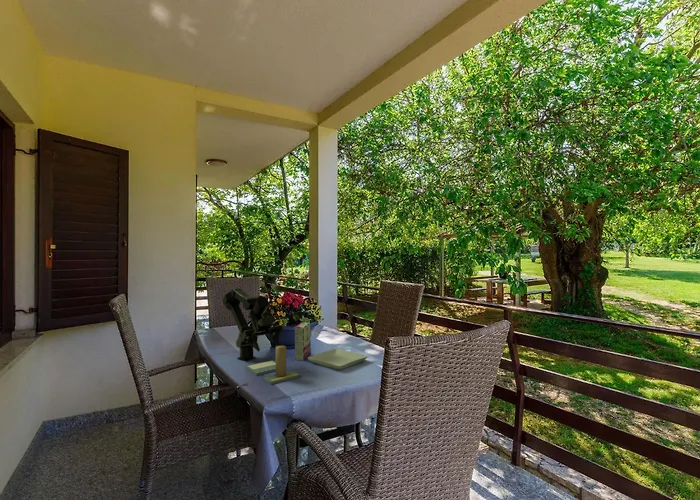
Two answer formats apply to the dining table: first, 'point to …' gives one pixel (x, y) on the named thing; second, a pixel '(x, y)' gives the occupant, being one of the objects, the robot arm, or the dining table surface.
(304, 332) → the candy bar box
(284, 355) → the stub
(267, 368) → the ticket
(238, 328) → the robot arm
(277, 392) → the dining table surface
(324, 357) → the salad plate
